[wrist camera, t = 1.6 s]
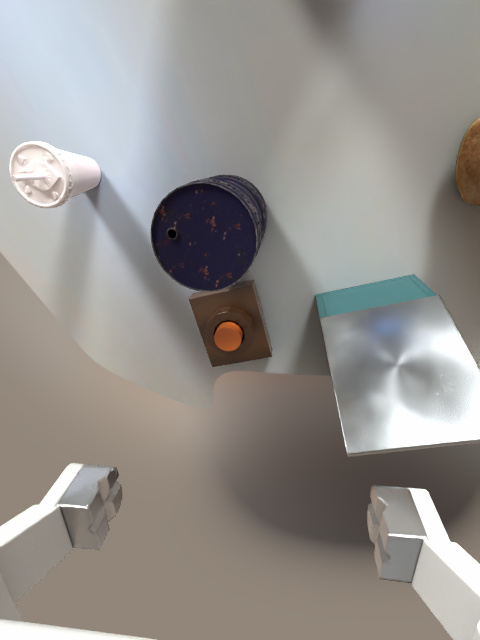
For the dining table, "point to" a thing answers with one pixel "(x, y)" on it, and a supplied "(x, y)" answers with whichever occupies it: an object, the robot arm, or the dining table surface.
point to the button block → (234, 307)
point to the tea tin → (372, 295)
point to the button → (228, 336)
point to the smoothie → (51, 174)
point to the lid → (402, 378)
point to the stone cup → (469, 165)
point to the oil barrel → (209, 231)
